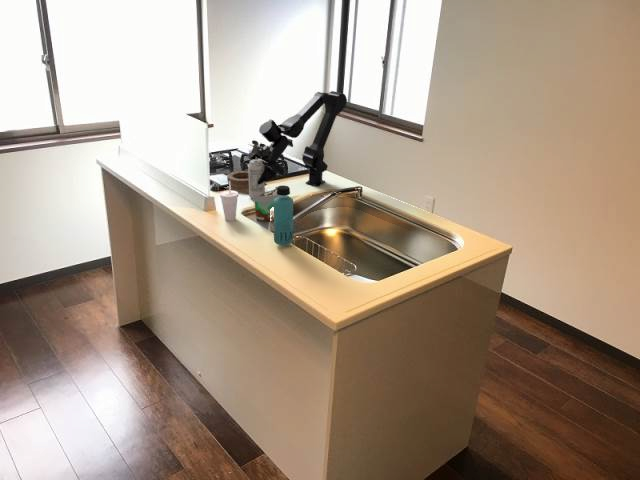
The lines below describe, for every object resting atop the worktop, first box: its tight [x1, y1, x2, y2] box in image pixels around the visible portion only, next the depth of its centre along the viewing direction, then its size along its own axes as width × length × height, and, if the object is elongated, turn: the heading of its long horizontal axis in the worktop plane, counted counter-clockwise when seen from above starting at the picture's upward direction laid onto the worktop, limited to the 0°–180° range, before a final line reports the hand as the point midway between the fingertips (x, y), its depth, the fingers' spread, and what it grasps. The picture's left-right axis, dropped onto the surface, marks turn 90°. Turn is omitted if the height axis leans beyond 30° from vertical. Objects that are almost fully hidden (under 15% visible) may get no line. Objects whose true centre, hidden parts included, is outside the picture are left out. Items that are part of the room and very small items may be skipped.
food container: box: [252, 186, 280, 223], centre depth 188 cm, size 12×6×10 cm, turn 143°
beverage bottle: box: [273, 185, 295, 246], centre depth 167 cm, size 6×7×20 cm
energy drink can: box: [247, 159, 266, 201], centre depth 205 cm, size 6×6×15 cm
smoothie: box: [219, 181, 239, 222], centre depth 186 cm, size 6×6×14 cm
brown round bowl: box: [224, 170, 267, 195], centre depth 219 cm, size 14×14×4 cm
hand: (253, 181), depth 204 cm, fingers closed on energy drink can, 6 cm apart
